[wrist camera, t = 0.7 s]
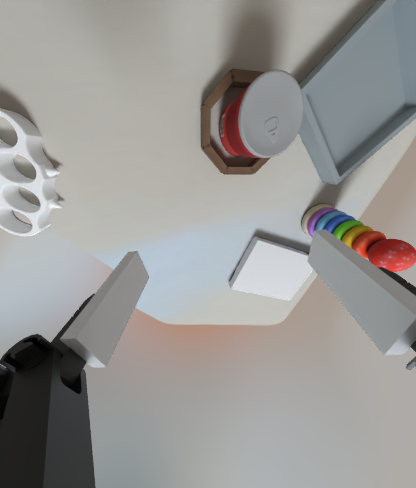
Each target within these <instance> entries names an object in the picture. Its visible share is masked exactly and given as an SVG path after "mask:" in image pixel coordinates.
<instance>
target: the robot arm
mask: <svg viewBox="0 0 416 488" xmlns="http://www.w3.org/2000/svg"><path fill="white" fill-rule="evenodd" d="M307 262H308V263H309V264H310V265H311V267H312V268H313V269H314V270H315V272H316V273H317V274H318V275H319V276H320V278H321V279H322V280H323V281H324V283H325V284H326V285H327V286H328V287H329V289H330V290H331V291H332V292H333V294H334V295H335V296H336V297H337V298H338V299H339V301H340V302H341V303H342V304H343V306H344V307H345V308H346V309H347V311H348V312H349V313H350V314H351V315H352V317H353V318H354V319H355V320H356V322H357V323H358V324H359V325H360V326H361V328H362V329H363V330H364V331H365V333H366V334H367V335H368V336H369V337H370V339H371V340H372V341H373V342H374V343H375V345H376V346H377V347H378V348H379V350H380V351H381V352H382V353H383V355H398V354H399V355H400V354H404V353H405V352H406V351H407V350H408V349H409V348H410V347H411V348H412V349H413V350H414V351H415V352H416V287H414V286H413V285H411V284H410V283H407V281H406V280H404V279H403V278H402V277H400V276H399V275H397V274H396V273H394V272H392V271H389V270H387V269H385V268H383V267H376V266H375V265H373V264H372V263H371V262H369V261H368V260H366V259H365V258H364V257H362V256H361V255H360V254H358V253H357V252H356V251H354V250H353V249H352V248H350V247H349V246H348V245H346V244H345V243H343V242H342V241H341V240H339V239H338V238H337V237H335V236H334V235H333V234H331V233H330V232H329V231H327V230H326V229H325V230H316V231H314V234H313V238H312V243H311V247H310V252H309V256H308V261H307ZM148 279H149V275H148V273H147V271H146V269H145V267H144V264H143V262H142V260H141V258H140V256H139V253H138V251H134V252H128V253H127V254H126V256H125V257H124V258H123V259H122V261H121V262H120V263H119V264H118V266H117V267H116V268H115V270H114V271H113V272H112V273H111V275H110V276H109V277H108V279H107V280H106V281H105V282H104V283H103V285H102V286H101V287H100V289H99V290H98V291H97V292H96V294H93V295H92V296H90V297H89V298H88V299H87V300H85V302H84V303H83V304H82V305H81V306H80V308H79V310H77V311H76V312H75V314H74V316H73V317H71V319H70V320H69V321H68V322H67V323H66V325H65V326H64V327H63V328H62V330H61V331H60V332H59V333H58V334H57V336H56V337H55V338H54V339H53V341H52V342H51V343H50V342H49V341H47V340H46V339H45V338H43V337H42V336H41V335H38V334H36V335H31V336H29V337H26V338H24V339H23V340H21V341H19V342H18V343H16V344H15V345H14V346H13V347H11V348H10V349H9V350H8V351H7V352H6V353H5V354H4V355H3V357H2V358H1V360H0V364H2V365H3V366H5V367H7V368H5V367H3V366H1V365H0V488H95V478H94V466H93V455H92V443H91V431H90V419H89V408H88V396H87V385H86V373H85V371H84V369H83V368H84V366H85V364H86V362H87V363H88V364H89V365H90V366H91V367H93V368H94V367H107V364H108V362H109V360H110V358H111V356H112V354H113V352H114V350H115V348H116V346H117V343H118V341H119V339H120V337H121V335H122V333H123V331H124V329H125V327H126V325H127V323H128V320H129V318H130V316H131V314H132V312H133V310H134V308H135V306H136V304H137V302H138V300H139V298H140V295H141V293H142V291H143V289H144V287H145V285H146V283H147V281H148ZM414 366H416V357H415V358H414V359H413V360H411V361H410V362H409V363H408V364H407V367H406V369H408V370H411V369H412V368H413V367H414Z"/></svg>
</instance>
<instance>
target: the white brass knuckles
mask: <svg viewBox="0 0 416 488" xmlns="http://www.w3.org/2000/svg"><path fill="white" fill-rule="evenodd" d="M0 117H4V118H5V119H6V120H8V121H9V122H10V123H11V125H12V126H13V127H14V129H15V131H16V133H17V137H18V141H17V144H16V145H15V146H13V147H12V146H9V145H8V144H6V143H5V142H3V141H2V140H1V139H0V227H1V228H2V229H4V230H5V231H7V232H9V233H12V234H15V235H19V236H31V235H34V234H37V233H38V232H40V231H42V230H44V229H45V228H47V227H49V226H50V225H51V221H50V212H51V210H52V209H53V208H63V207H62V206H61V205H60V204H59V203H58V198H59V196H58V195H57V193H56V191H55V180H56V179H57V174H59V173H61V172H60V171H58V170H56V169H54V167H53V164H52V163H51V162H50V161H49V160H48V159H47V157H46V156H45V154H44V152H43V149H42V144H41V141H42V136H41V134H40V132H39V131H38V129H37V128H36V127H35V126H34V125H33V124H32V123H31V122H30V121H29V120H28V119H26V118H25V117H23V116H22V115H20V114H18V113H15V112H13V111H9V110H5V109H1V108H0ZM17 154H19V155H22V156H24V157H25V158H27V159H28V160H29V161H30V162H31V163H32V164H33V166H34V168H35V170H36V178H35V179H29V178H27V177H25V176H23V175H22V174H21V173H20V172H19V171H18V170H17V169H16V167H15V165H14V157H15V156H16V155H17ZM19 186H21V187H23V188H25V189H27V190H29V191H31V192H33V193H34V194H35V195H36V196H37V197H38V199H39V201H40V206H37V205H34V204H32V203H30V202H28V201H26V200H25V199H24V198H23V197H22V196H21V194H20V192H19ZM13 210H15V211H17V212H19V213H22V214H23V215H25V216H26V217H28V219H29V220H30V221H31V223H32V225H31V224H28V223H26V222H23V221H21V220H20V219H19V218H18V217H16V215H15V214H14V211H13Z"/></svg>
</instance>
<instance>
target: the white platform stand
mask: <svg viewBox="0 0 416 488" xmlns="http://www.w3.org/2000/svg"><path fill="white" fill-rule="evenodd" d="M308 256H309V254H307V253H305V252H303V251H301V250H296V249H294V248H291V247H288V246H285V245H282V244H278V243H275V242H272V241H269V240H266V239H261V238H259V237H256V236H255V237H254V238H253V239H252V241H251V242H250V244H249V246H248V248H247V250H246V251H245V253H244V255H243V257H242V259H241V261H240V264H239V265H238V266H237V268H236V270H235V273H234V275H233V277H232V279H231V281H230V283H229V286H230V288H231V289H233V290H238V291H243V292H248V293H253V294H258V295H263V296H268V297H273V298H278V299H283V300H288V301H290V299H291V298H292V297H293V296H294V294H295V293H296V292H297V291H298V289H299V288H300V287H301V285H302V284H303V283H304V282H305V280H306V279H307V278H308V277H309V275H310V274H311V273H312V271H313V270H314V269H313V268H312V267H311V265H310V264H309V263H308V262H307V261H308Z"/></svg>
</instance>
